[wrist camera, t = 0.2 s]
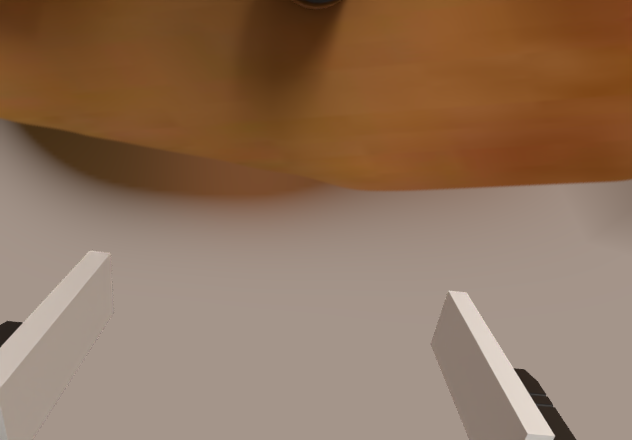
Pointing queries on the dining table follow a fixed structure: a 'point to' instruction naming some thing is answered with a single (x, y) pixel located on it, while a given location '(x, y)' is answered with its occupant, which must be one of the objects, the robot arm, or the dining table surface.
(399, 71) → the dining table surface
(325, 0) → the supplement bottle
